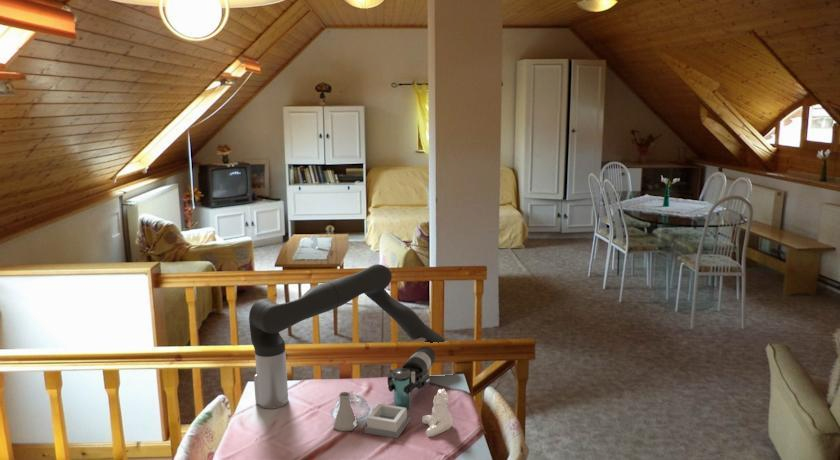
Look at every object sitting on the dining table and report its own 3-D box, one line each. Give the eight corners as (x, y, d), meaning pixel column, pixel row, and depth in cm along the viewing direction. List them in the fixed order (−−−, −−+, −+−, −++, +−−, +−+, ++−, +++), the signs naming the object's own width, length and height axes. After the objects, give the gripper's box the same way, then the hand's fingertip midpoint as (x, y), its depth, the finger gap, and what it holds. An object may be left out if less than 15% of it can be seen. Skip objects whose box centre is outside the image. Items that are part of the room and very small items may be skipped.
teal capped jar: (390, 410, 193) (389, 374, 190) (396, 402, 198) (396, 366, 196) (407, 413, 191) (406, 376, 189) (413, 404, 196) (412, 369, 194)
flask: (353, 433, 181) (352, 401, 178) (329, 430, 182) (328, 398, 180) (361, 420, 187) (360, 389, 185) (337, 418, 189) (336, 387, 187)
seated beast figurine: (420, 421, 187) (420, 383, 184) (449, 418, 188) (449, 380, 186) (427, 437, 178) (426, 398, 175) (456, 434, 179) (456, 395, 177)
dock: (364, 432, 181) (364, 418, 180) (378, 415, 190) (377, 402, 189) (397, 438, 177) (397, 423, 176) (409, 421, 187) (409, 407, 186)
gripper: (396, 353, 208) (376, 375, 192) (437, 359, 203) (420, 381, 188) (396, 374, 209) (377, 398, 194) (437, 380, 205) (421, 404, 189)
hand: (398, 389), depth 191 cm, fingers closed on teal capped jar, 4 cm apart
